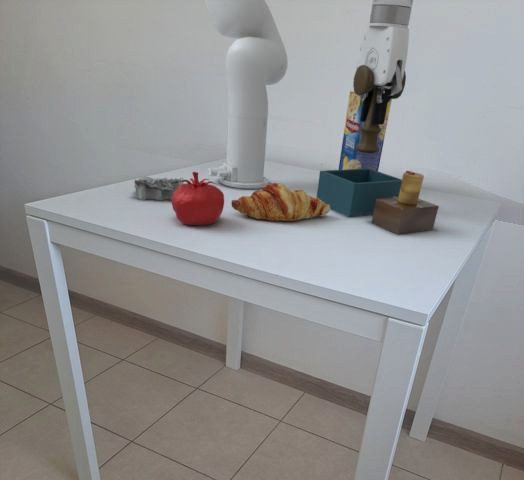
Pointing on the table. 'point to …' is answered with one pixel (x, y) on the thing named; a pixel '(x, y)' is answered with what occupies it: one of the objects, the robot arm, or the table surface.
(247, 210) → the croissant
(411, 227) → the block
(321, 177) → the teal open box
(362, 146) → the kendama
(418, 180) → the tap knob
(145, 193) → the grey flat jagged block
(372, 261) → the table surface
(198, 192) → the red tomato
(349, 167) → the beverage box
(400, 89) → the robot arm
